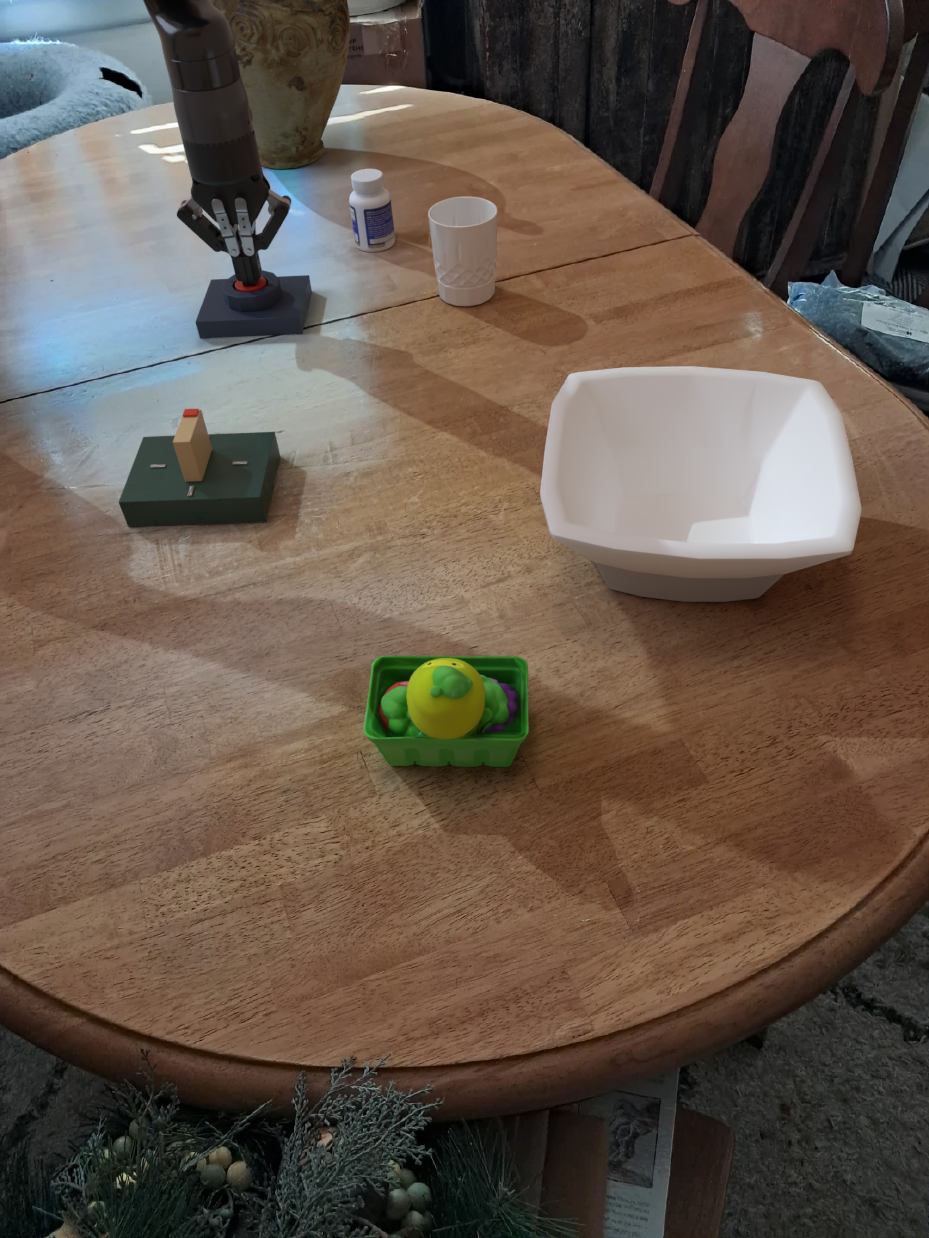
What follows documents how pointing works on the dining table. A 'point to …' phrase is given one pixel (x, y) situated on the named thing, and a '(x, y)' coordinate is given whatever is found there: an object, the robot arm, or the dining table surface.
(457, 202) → the white cup
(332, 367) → the dining table surface
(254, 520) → the panel
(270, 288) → the button box
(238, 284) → the button
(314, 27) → the vase
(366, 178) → the pill bottle
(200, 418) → the knob
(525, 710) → the fruit basket
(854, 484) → the bowl
